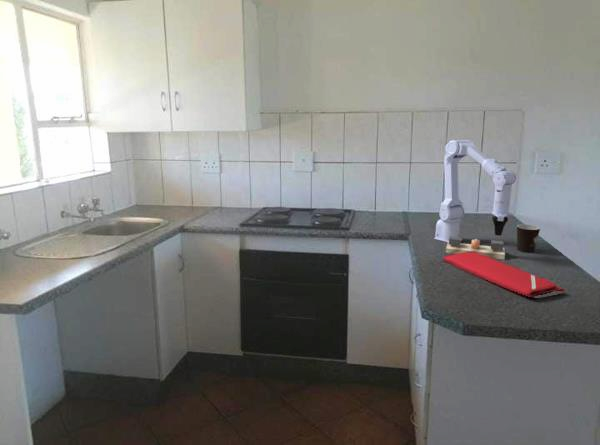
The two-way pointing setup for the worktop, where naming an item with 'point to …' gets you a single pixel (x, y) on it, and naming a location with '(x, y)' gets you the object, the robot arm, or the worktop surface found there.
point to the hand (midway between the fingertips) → (498, 235)
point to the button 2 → (497, 245)
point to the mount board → (476, 250)
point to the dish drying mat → (502, 274)
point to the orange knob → (475, 244)
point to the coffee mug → (527, 237)
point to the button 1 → (454, 240)
